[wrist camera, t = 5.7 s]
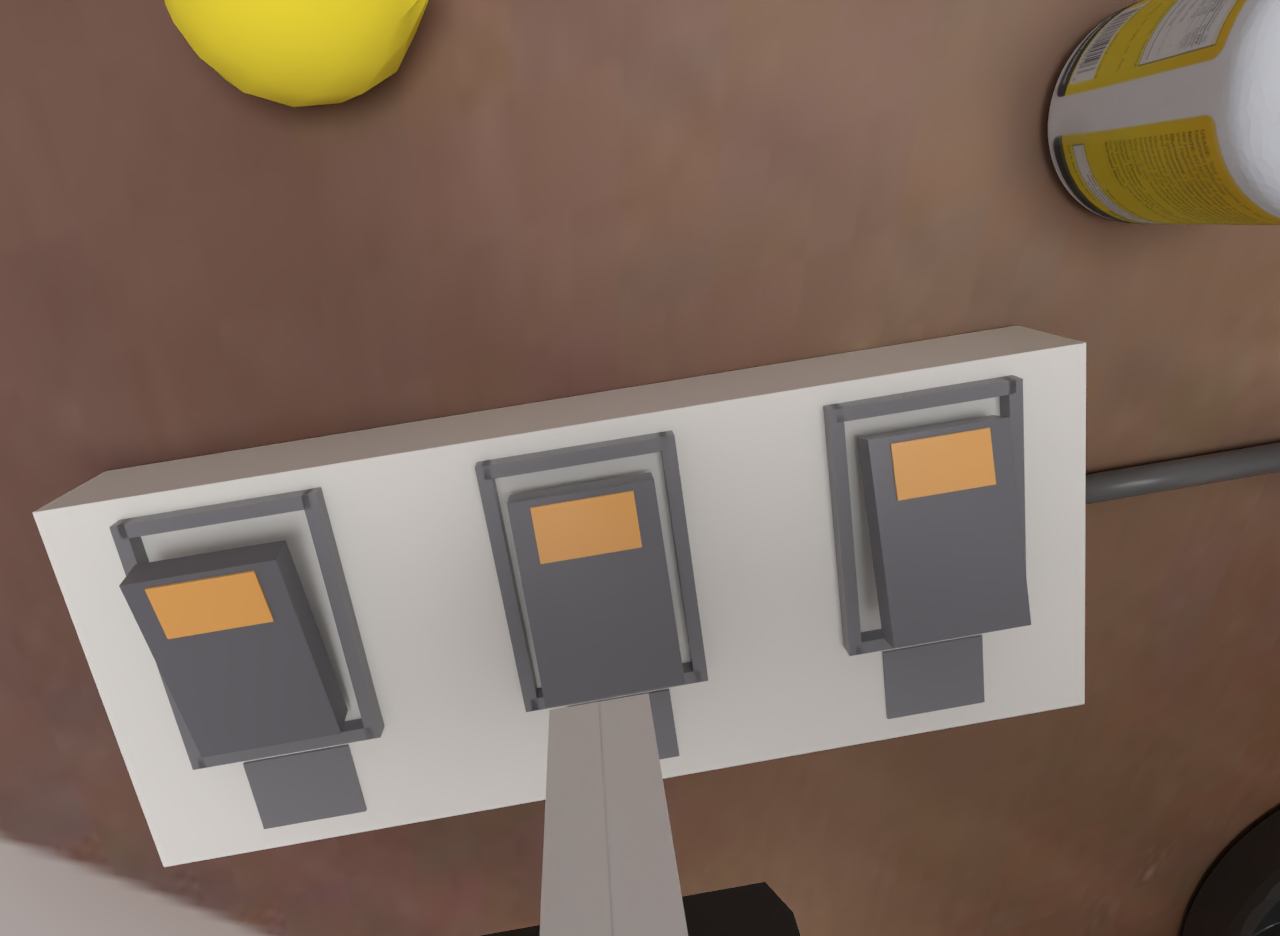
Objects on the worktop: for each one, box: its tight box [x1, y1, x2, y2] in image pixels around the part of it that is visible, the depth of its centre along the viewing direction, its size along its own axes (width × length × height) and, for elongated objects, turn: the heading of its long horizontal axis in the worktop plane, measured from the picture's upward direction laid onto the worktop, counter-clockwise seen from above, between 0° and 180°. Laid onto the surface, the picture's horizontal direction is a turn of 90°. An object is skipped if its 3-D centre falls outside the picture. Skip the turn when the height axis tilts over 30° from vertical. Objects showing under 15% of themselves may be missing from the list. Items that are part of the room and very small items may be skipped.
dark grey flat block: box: [507, 472, 685, 707], centre depth 25 cm, size 6×4×1 cm, turn 8°
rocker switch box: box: [32, 325, 1280, 867], centre depth 28 cm, size 12×40×5 cm, turn 98°
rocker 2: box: [857, 415, 1031, 649], centre depth 25 cm, size 6×4×1 cm, turn 8°
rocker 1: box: [119, 540, 348, 758], centre depth 24 cm, size 6×4×1 cm, turn 8°
